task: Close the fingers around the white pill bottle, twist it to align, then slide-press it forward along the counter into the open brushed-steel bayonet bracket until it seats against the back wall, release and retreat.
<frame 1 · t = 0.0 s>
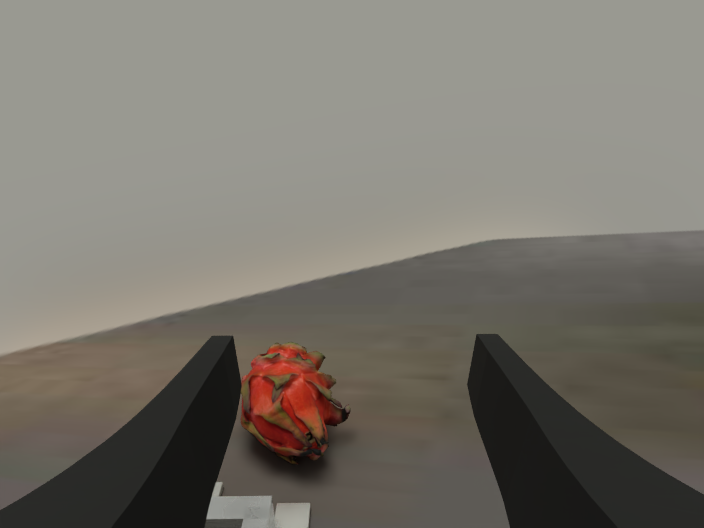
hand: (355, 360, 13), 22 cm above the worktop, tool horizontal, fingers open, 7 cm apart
dragon fruit: (293, 434, 39), on the worktop
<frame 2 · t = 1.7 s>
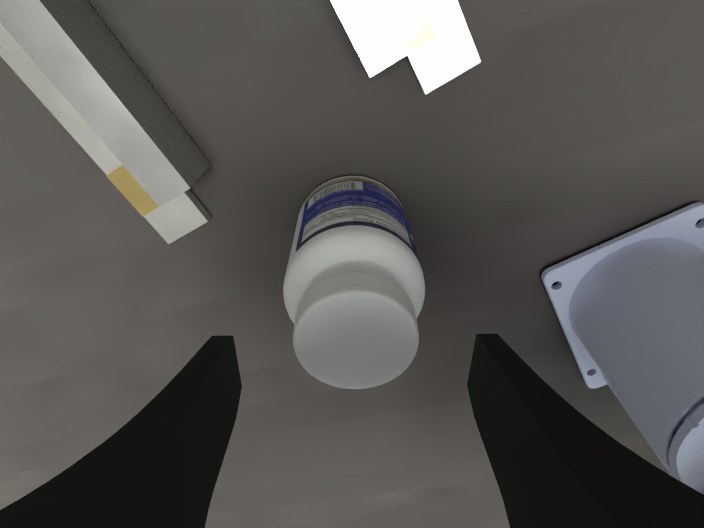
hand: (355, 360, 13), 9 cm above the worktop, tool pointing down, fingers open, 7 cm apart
pill bottle: (352, 222, 22), on the worktop
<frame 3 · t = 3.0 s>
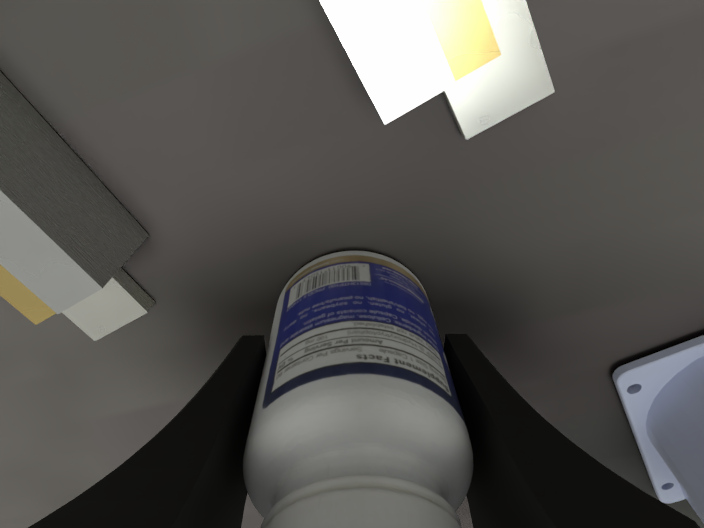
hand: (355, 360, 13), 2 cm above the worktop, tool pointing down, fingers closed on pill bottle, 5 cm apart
pill bottle: (353, 308, 15), on the worktop, touching gripper
when the fingers open (2 cm above the worktop, at t = 4.5 s): pill bottle moves 5 cm, on the worktop.
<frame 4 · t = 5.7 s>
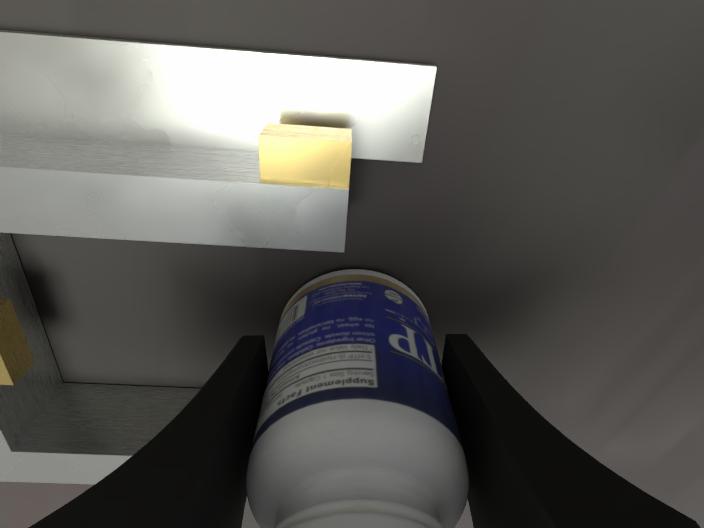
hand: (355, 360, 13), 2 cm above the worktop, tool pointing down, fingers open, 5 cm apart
pill bottle: (354, 324, 16), on the worktop, touching gripper
socket: (184, 303, 15), on the worktop
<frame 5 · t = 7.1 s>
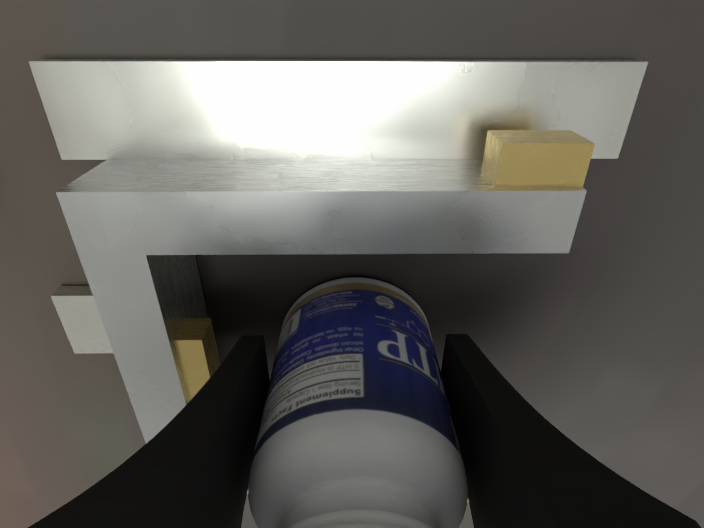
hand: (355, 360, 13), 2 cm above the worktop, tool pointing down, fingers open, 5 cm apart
pill bottle: (354, 330, 16), on the worktop, touching gripper
socket: (352, 313, 15), on the worktop
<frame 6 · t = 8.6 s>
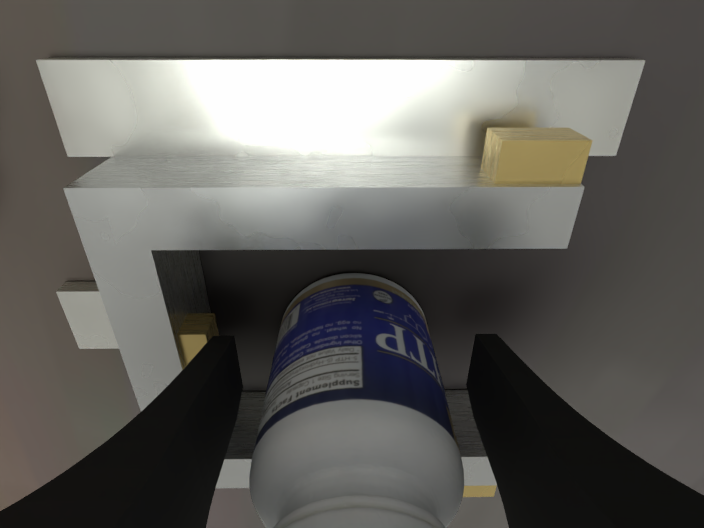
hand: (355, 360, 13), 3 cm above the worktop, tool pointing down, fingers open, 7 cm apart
pill bottle: (353, 326, 16), on the worktop
socket: (353, 309, 15), on the worktop
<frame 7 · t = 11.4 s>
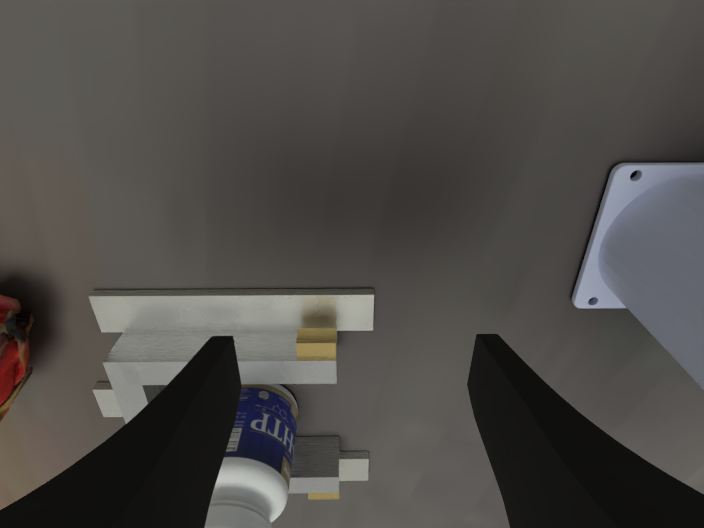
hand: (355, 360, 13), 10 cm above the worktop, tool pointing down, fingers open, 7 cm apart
pill bottle: (258, 402, 28), on the worktop
socket: (256, 395, 28), on the worktop
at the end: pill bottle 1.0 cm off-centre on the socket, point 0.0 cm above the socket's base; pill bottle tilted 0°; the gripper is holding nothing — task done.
